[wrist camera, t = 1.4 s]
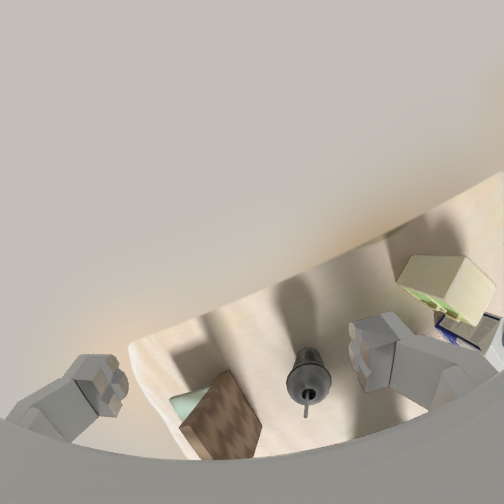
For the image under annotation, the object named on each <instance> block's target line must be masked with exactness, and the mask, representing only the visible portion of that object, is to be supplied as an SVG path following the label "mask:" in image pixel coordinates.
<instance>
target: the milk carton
mask: <svg viewBox="0 0 504 504" xmlns="http://www.w3.org/2000/svg"><path fill="white" fill-rule="evenodd" d="M435 327H436V329H437V330H438V331H439V332H440V333H441V334H442V335H443V336H444V337H445V338H446V340H447V341H448V342H449V343H450V344H454V345H457V346H461V347H464V348H468V349H471V350H475V351H478V352H480V353H481V354H482V355H483V356H484V357H485V358H486V359H487V360H488V361H489V362H490V364H491V365H492V366H493V367H494V368H495V369H496V370H497V371H498V372H501V371H502V370H503V369H504V319H503V317H499V316H496V315H493V314H490V313H487V312H484V313H483V315H482V317H481V319H480V321H479V323H478V324H477V326H475V327H474V326H472V325H470V324H467V323H465V322H463V321H460V322H457V321H455V320H453V319H451V318H448V317H447V316H446V315H445V314H444V315H443V317H442V318H441V319H440V320H439V322H438V323H437V324H436V326H435Z"/></svg>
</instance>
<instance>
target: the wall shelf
mask: <svg viewBox="0 0 504 504" xmlns="http://www.w3.org/2000/svg"><path fill="white" fill-rule="evenodd" d="M169 401H170V403H171V405H172V406H173V408H174V410H175V411H176V413H177V414H178V416H179V417H180V419H181V420H182V422H183V423H182V424H181V425H180V427H179V429H180V431H181V432H182V434H183V435H184V436H185V438H186V439H187V441H188V442H189V444H190V445H191V446H192V448H193V449H194V450H195V452H196V453H197V454H198V456H199V457H200V458H201V460H232V459H247V458H253V456H254V453H255V450H256V446H257V443H258V440H259V436H260V433H261V430H262V425H261V423H260V422H259V420H258V419H257V417H256V415H255V414H254V412H253V410H252V409H251V407H250V405H249V404H248V402H247V400H246V398H245V397H244V395H243V393H242V392H241V390H240V388H239V386H238V384H237V383H236V381H235V379H234V377H233V376H232V374H231V372H230V370H227V371H224V372H222V373H221V374H220V375H219V376H218V378H217V379H216V380H215V382H214V383H213V384H212V385H211V386H208V387H205V388H202V389H198V390H195V391H192V392H188V393H185V394H181V395H178V396H174V397H171V398H170V399H169Z"/></svg>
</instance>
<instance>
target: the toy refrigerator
mask: <svg viewBox="0 0 504 504" xmlns="http://www.w3.org/2000/svg"><path fill="white" fill-rule="evenodd" d="M396 284H398V285H399V286H400V287H402V288H403V289H404V290H406V291H407V292H408V293H410V294H411V295H412V296H414V297H415V298H416V299H417V300H419V301H420V302H421V303H423V304H425V305H427V306H428V307H430V308H432V309H434V310H436V311H441V312H443V313H445V315H446V316H447V317H448V318H451V319H453V320H455V321H457V322H460V321H463V322H465V323H467V324H470V325H472V326H474V327H475V326H477V324H478V323H479V321H480V319H481V317H482V315H483V313H484V312H485V310H486V308H487V306H488V304H489V302H490V300H491V298H492V296H493V294H494V292H495V289H496V285H495V284H494V283H493V281H492V280H491V279H490V278H489V277H488V276H487V275H486V274H485V273H484V272H483V271H482V270H481V269H480V268H479V267H478V266H477V265H476V264H475V263H473V262H472V261H471V260H470V259H469V258H468V257H467V256H465V255H412V256H411V257H410V259H409V261H408V263H407V264H406V266H405V268H404V269H403V271H402V273H401V274H400V276H399V278H398V279H397V281H396Z"/></svg>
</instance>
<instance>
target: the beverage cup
mask: <svg viewBox="0 0 504 504" xmlns="http://www.w3.org/2000/svg"><path fill="white" fill-rule="evenodd" d="M286 385H287V390H288V393H289V395H290V396H291V398H292V399H293V400H294V401H295V402H297V403H299V404H302V405H305V410H304V418H307V416H308V405H314V404H317V403H319V402H321V401H322V400H323V399H324V398H325V397H326V396H327V394H328V393H329V390H330V386H331V376H330V374H329V372H328V371H327V370H326V368H325V367H324V364H323V362H322V359H321V357H320V355H319V353H318V352H317V351H316V350H315V349H313V348H305V349H302V350H301V351H300V352H299V354H298V356H297V357H296V360H295V363H294V366H293V369H292V371H291V372H290V374H289V375H288V377H287V381H286Z"/></svg>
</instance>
